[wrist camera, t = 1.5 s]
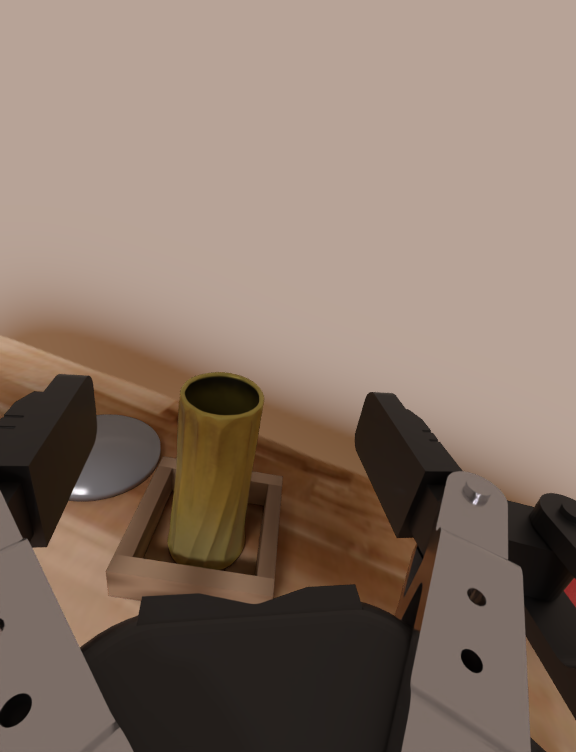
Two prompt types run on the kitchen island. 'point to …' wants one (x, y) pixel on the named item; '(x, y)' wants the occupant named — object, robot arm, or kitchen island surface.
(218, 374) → the vase
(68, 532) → the kitchen island surface
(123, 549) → the square wooden tray
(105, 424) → the coaster
